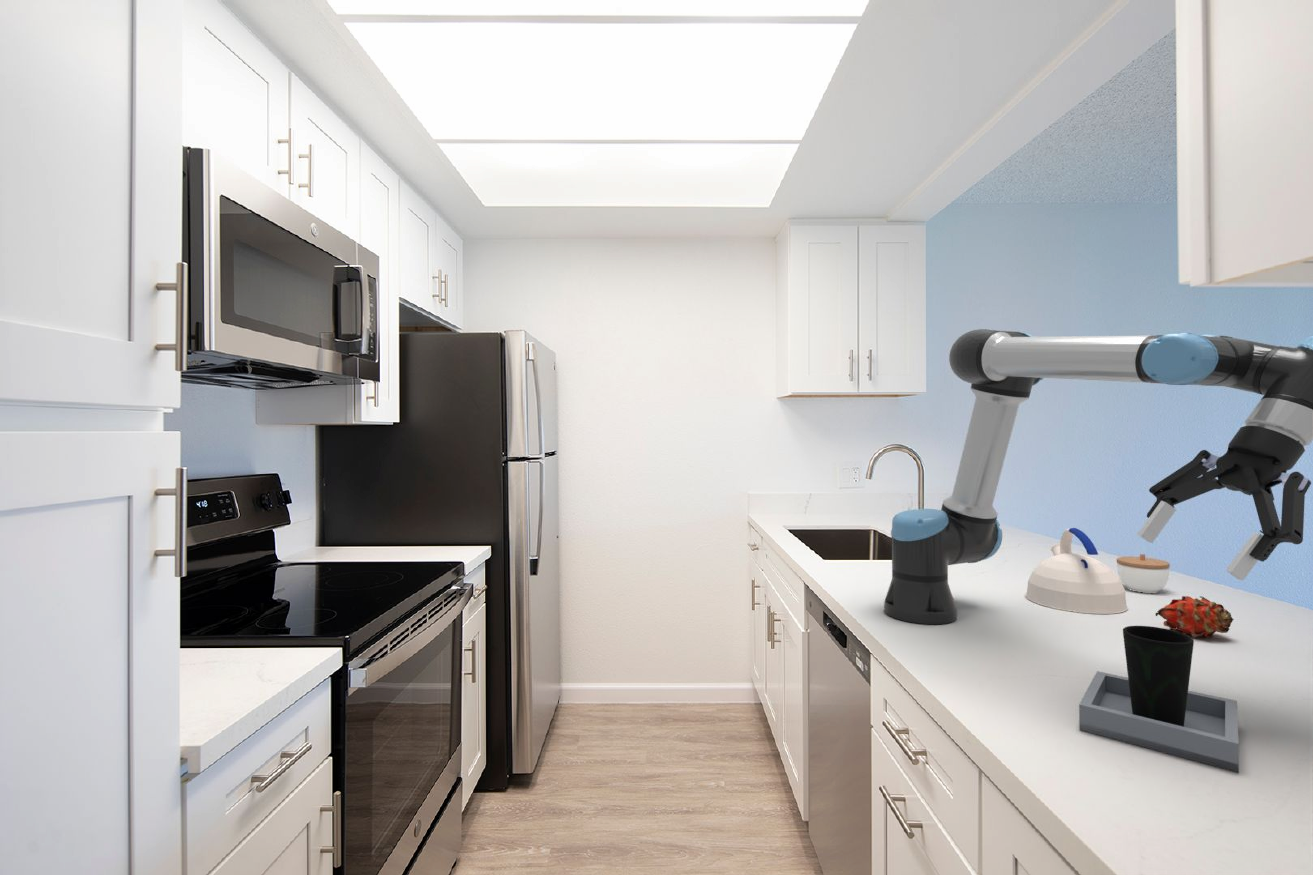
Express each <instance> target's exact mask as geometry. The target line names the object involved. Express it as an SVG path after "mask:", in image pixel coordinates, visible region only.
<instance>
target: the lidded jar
mask: <svg viewBox="0 0 1313 875" xmlns="http://www.w3.org/2000/svg"><path fill="white" fill-rule="evenodd" d="M1116 563H1117V564H1116V570H1117V576H1118V578H1119V579H1120V581H1121V583H1122V585H1123V586H1125V587H1126V588H1127V589H1128V590H1129V589H1131V590H1134V591H1138V592H1137V593H1140V592H1143V593H1142V594H1151V593H1153V594H1158V593H1159V592H1160V591H1161V590H1163V588H1165V587H1166V585H1167V584H1168V581H1169V576H1170V564H1171V563H1169V562H1168V561H1165V560H1162V559H1157V558H1151V557H1146V554H1144V553H1139V556H1119V557H1117V558H1116ZM1131 590H1130V591H1131ZM1134 591H1133V592H1134Z"/></svg>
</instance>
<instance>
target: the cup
mask: <svg viewBox="0 0 1313 875" xmlns="http://www.w3.org/2000/svg"><path fill="white" fill-rule="evenodd" d="M1122 635H1123V637H1122V638H1123V644H1124V654H1125V662H1126V669H1127V678H1128V680H1129V689H1130V697H1131V706H1132V714H1133V715H1137V716H1141V717H1145V718H1150V719H1154V720H1158V721H1162V722H1166V723H1170V724H1174V725H1178V726H1182V727H1184V721H1185V712H1186V704H1187V695H1188V690H1189V686H1190V676H1191V670H1192V660H1193V652H1194V644H1195V640H1194V638H1193V637H1192V636H1190V635H1187V634H1183V633H1180V632H1178V631H1174V630H1170V628H1169V629H1168V628H1164V627H1158V626H1149V625H1129V626H1125V627H1124V628H1122Z"/></svg>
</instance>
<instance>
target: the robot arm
mask: <svg viewBox="0 0 1313 875" xmlns="http://www.w3.org/2000/svg"><path fill="white" fill-rule="evenodd" d="M948 356H949V357H948V362H949V365H950V367H951V368H950V369H951V370H952V372H953V373H954V375H955V376H956V377H957V378H959V379H960V380H962V381H963V382H966V383H968V384H971V385H970V390H971V391H972V393H973V395H974V396H975V400H974V404H973V407H972V408H973V409H972V412H971V416H970V420H969V425H968V427H967V433H966V436H965V441H964V445H963V449H962V453H961V457H960V461H959V464H958V470H957V474H956V477H955V482H954V486H953V488H952V489H953V490H952V494H951V496H949V497H947V498H945V499H943V500H942V505H941V508H940V509H935V508H919V509H916V508H915V509H908V510H903V511H901V512H898V513H897V514H895V515H894V516H893V517H892V520H891V531H890V536H891V581H890V584H889V587H888V590H887V592H886V596H885V598H884V600H883V601H884V603H883V606H884V607H883V608H884V609H883V610H884V611H883V612H884V614H886V615H888V617H891V618H893V619H896V620H899V621H903V622H908V623H914V624H922V625H942V624H943V625H945V624H950V623H953V622H955V621H956V620H957V618H958V616H957V615H958V612H957V610H958V608H957V605H956V602H955V599H954V597H953V594H952V591H951V589H950V585H949V578H948V577H949V574H948V573H949V570H948V568H949V566H953V565H954V566H955V565H959V564H960V565H961V564H973V563H978V562H979V563H980V562H981V561H985V560H987V559H990V558H991V557H993V556H994V555H995V554H996V553H998V550H999V549H1000V548H1001V545H1002V542H1003V530H1002V529H1001V528H1000V526H1001V525H1000V522H999V520H998V519H997V518H998V516H999V515H998V512H997V510H996V509H995V508H994V500H995V497H996V492H997V489H998V486H999V482H1000V478H1001V474H1002V470H1003V466H1004V462H1005V458H1006V456H1007V453H1008V452H1007V451H1008V448H1009V444H1010V442H1011V440H1010V439H1011V437H1012V432H1013V429H1014V426H1015V421H1016V417H1017V413H1018V409H1019V407H1020V404H1021V403H1023V402H1026V401H1027V400H1029V399H1030V395H1031V393H1032V389H1033V386H1035V385H1037V384H1038V383H1039V382H1040V381H1043V380H1044V379H1062V380H1081V381H1082V380H1083V381H1104V382H1105V381H1107V382H1129V383H1148V384H1163V385H1164V384H1165V385H1169V386H1170V385H1171V386H1205V387H1206V386H1209V387H1210V386H1211V387H1225V388H1229V389H1230V388H1231V389H1236V390H1239V391H1244V392H1250V393H1254V394H1258V395H1262V397H1261V399H1260V400H1259V402H1257V404H1256V405H1255V406H1254V408H1253V410H1252V411H1251V412H1250V413H1249V415H1248V416H1247V418H1246V419H1245V421H1244V424H1245V426H1241V427H1240V428H1239V429H1238V431H1237V432H1236V433H1235V435H1234V436H1233V437H1232V439H1231V440H1230V442H1229V443H1228V445H1227V446H1228V447H1227V451H1226V453H1224V454H1223V455H1221V456H1217V455H1216V454H1215V455H1214V454H1212V453H1211V452H1210V451H1209V450H1206V449H1202V450H1200V451H1199V452H1198V453H1197V455H1196V456H1194V458H1193V459H1192V460H1191V461H1189V462H1188V463H1186V464H1184V465H1183V466H1181V467H1180V468H1178V469H1177V470H1175V471H1174V472H1171V474H1169V475H1168V476H1166V477H1164V478H1163V479H1161V480H1160V481H1158V482H1157V483H1155V484H1154V485H1152V486H1151V487H1150V488H1149V489H1148V491H1149V493H1150V494H1152V495H1153V496H1154V497H1155V498H1156V500H1155V502H1154V503H1153V505H1152V507H1151V508H1150V510H1148V512H1147V514H1146V518H1148V519H1147V520H1146V521H1145V523H1144V524H1143V525H1142V527H1141V528H1140V530H1139V531H1138V532H1137V533H1136V534H1137V535H1138V536H1139V537H1140V538H1141V539H1143V540H1145V541H1147V542H1148V543H1151V544H1153V543H1154V542H1155V540H1156V538H1157V537H1158V536H1159V535H1160V533H1161V532H1162V531H1163V529H1165V527H1166V525H1167V523H1168V522H1169V521H1170V519H1171V518H1172V517H1173V515H1174V514H1175V513H1176V512H1177V509H1176V507H1175V505H1178V504H1181V503H1183V502H1186V501H1188V500H1191V499H1193V498H1196V497H1199V496H1201V495H1202V494H1203V495H1204V494H1206V493H1208V492H1211V491H1213V490H1221V489H1224V488H1226V489H1227V490H1229V491H1234V492H1240V493H1243V494H1244V495H1247V496H1252V498H1253V502H1254V503H1253V504H1254V505H1255V509H1256V512H1257V513H1256V514H1257V516H1258V521H1259V524H1260V528H1261V530H1259V532H1260V533H1258V532H1256V531H1254V532H1253V533H1252V534H1251V535H1250V537H1249V538H1248V539H1247V541H1246V542H1245V544H1244V545H1243V546H1242V547H1241V548H1240V550H1239V552H1238V553H1237V554H1236V556H1235V557H1234V558H1233V559H1232V561H1231V562H1230V564H1229V565H1228V566H1227V567H1226V569H1225V572H1227V573H1229V574H1230V575H1231V576H1233V577H1235V578H1236V579H1237V580H1240V581H1242V582H1243V581H1244V580H1245V579H1246V578H1247V576H1248V575H1249V573H1250V572H1251V571H1252V570H1253V568H1254V567H1255V566H1256V564H1257V563H1258V561H1259V562H1263V563H1264V562H1265V561H1266V560H1268V559H1269V557H1270V556H1271V555H1272V553H1273V552H1274V550H1275V549H1276V548H1277V546H1278V545H1279V544H1282V543H1291V544H1293V545H1300V544H1302V543H1303V540H1304V521H1305V519H1304V518H1305V500H1306V499H1305V498H1306V496H1305V495H1306V493H1308V490H1309V488H1310V486H1311V484H1312V481H1311V480H1310V479H1309V478H1308V477H1306V476H1305V475H1303V474H1302V473H1301V472H1300V471H1293V472H1291V473H1287V472H1288V471H1290V470H1292V469H1293V468H1294V467H1295V465H1296V464H1297V462H1298V461H1299V460H1300V458H1301V457H1302V456H1303V454H1305V452H1306V449H1305V447H1306V446H1309V445H1310V444H1311V443H1312V442H1313V335H1311V336H1309V337H1307V338H1304V340H1303V341H1302V342H1301V343H1299V344H1298V345H1297V346H1296V347H1290V346H1281V345H1280V346H1278V345H1273V344H1268V343H1263V342H1258V341H1252V340H1247V339H1240V338H1236V337H1232V336H1228V335H1221V334H1220V335H1219V334H1218V335H1215V334H1210V333H1209V334H1202V335H1200V334H1197V333H1191V332H1173V333H1169V334H1168V333H1167V334H1160V335H1159V334H1158V335H1157V334H1156V335H1152V334H1144V335H1143V334H1141V335H1135V334H1134V335H1077V336H1076V335H1075V336H1073V335H1072V336H1071V335H1068V336H1067V335H1064V336H1058V335H1057V336H1035V335H1033V334H1030V333H1026V332H1021V331H1010V330H1008V331H1007V330H995V329H986V328H985V329H984V328H983V329H982V328H980V329H979V328H978V329H974V330H973V329H972V330H969V331H968V332H965V333H963V334H961V336H959V337H958V338H957V339H956V340H955V342H954V343H953V344H952V345H951V348H950V351H949V355H948ZM1281 484H1282V486H1283V488H1282V500H1281V502H1282V504H1281V521H1280V519H1279V516H1278V512H1277V509H1276V505H1275V502H1274V501H1275V496H1274V493H1273V490H1272V488H1273V487H1275V486H1276V487H1277V486H1278V485H1281ZM1262 534H1263V535H1262Z"/></svg>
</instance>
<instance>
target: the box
mask: <svg viewBox="0 0 1313 875" xmlns="http://www.w3.org/2000/svg"><path fill="white" fill-rule="evenodd" d="M1078 708H1079V709H1078V711H1079V712H1078V713H1079V714H1078V716H1079V717H1078V721H1079V722H1078V724H1079V727H1078V728H1079V731H1083V732H1087V733H1090V734H1093V735H1094V734H1095V735H1098V736H1100V737H1101V736H1102V737H1104V738H1109V739H1112V740H1116V741H1120V742H1124V743H1127V744H1132V745H1135V746H1138V747H1143V748H1146V749H1150V750H1153V751H1157V752H1160V753H1165V754H1169V755H1172V756H1175V757H1179V758H1183V759H1187V760H1190V761H1194V762H1196V763H1201V764H1205V765H1209V766H1213V767H1215V768H1220V769H1224V770H1228V771H1231V772H1235V773H1240V771H1239V770H1240V769H1239V768H1240V767H1239V766H1240V760H1239V758H1240V756H1239V755H1240V753H1239V749H1240V748H1239V745H1240V743H1239V717H1238V716H1239V715H1238V713H1239V712H1238V700H1235V699H1231V698H1226V697H1221V696H1217V695H1211V694H1208V693H1207V694H1206V693H1201V692H1198V691H1193V690H1189V689H1188V695H1187V704H1186V712H1185V721H1184V727H1182V726H1178V725H1174V724H1170V723H1166V722H1162V721H1158V720H1154V719H1150V718H1145V717H1141V716H1137V715H1133V714H1132V706H1131V697H1130V689H1129V680H1128V676H1122V675H1117V674H1113V673H1108V672H1103V671H1099V670H1096V673H1095V674H1094V677H1093V678H1092V680H1091V682H1090V684H1089V686H1088V688H1087V689H1086V691H1085V692H1084V695H1083V697H1082V698H1081V701H1080V703H1079V704H1078Z"/></svg>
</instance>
